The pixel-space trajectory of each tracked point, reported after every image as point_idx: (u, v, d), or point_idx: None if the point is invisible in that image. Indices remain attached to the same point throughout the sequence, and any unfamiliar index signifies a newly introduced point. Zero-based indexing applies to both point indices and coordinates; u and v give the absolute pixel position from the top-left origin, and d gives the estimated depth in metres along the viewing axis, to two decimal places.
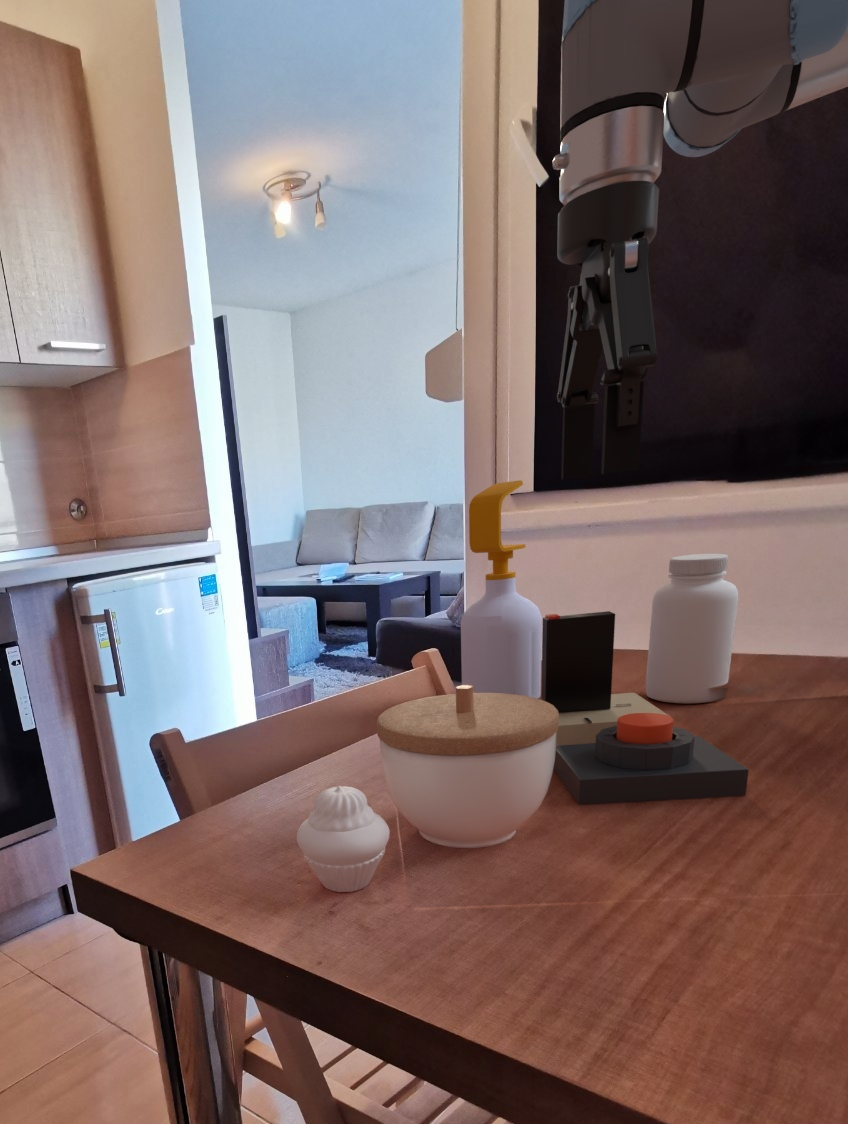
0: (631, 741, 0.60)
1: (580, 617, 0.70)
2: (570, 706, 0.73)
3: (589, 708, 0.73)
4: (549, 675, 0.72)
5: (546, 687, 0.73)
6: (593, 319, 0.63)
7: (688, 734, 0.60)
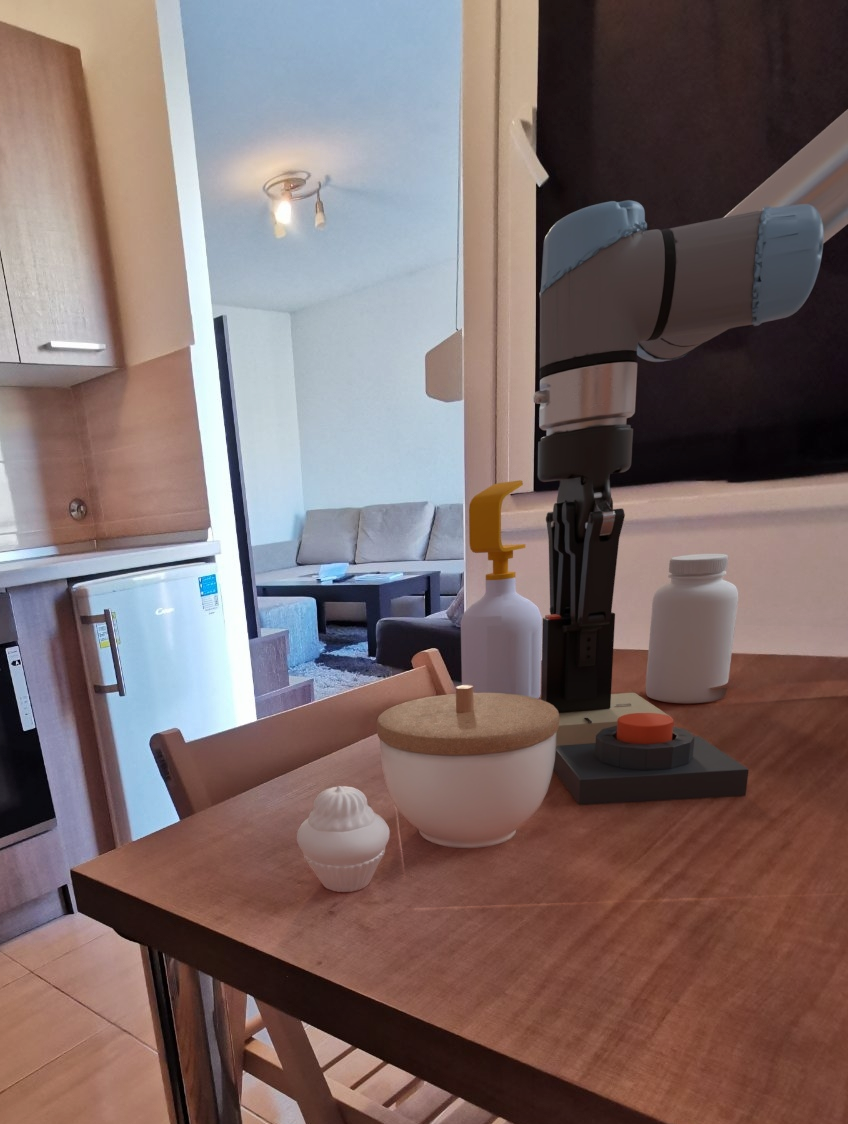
0: (631, 741, 0.60)
1: None
2: (571, 706, 0.73)
3: (589, 708, 0.73)
4: (550, 675, 0.72)
5: (547, 687, 0.73)
6: (567, 550, 0.68)
7: (688, 734, 0.60)
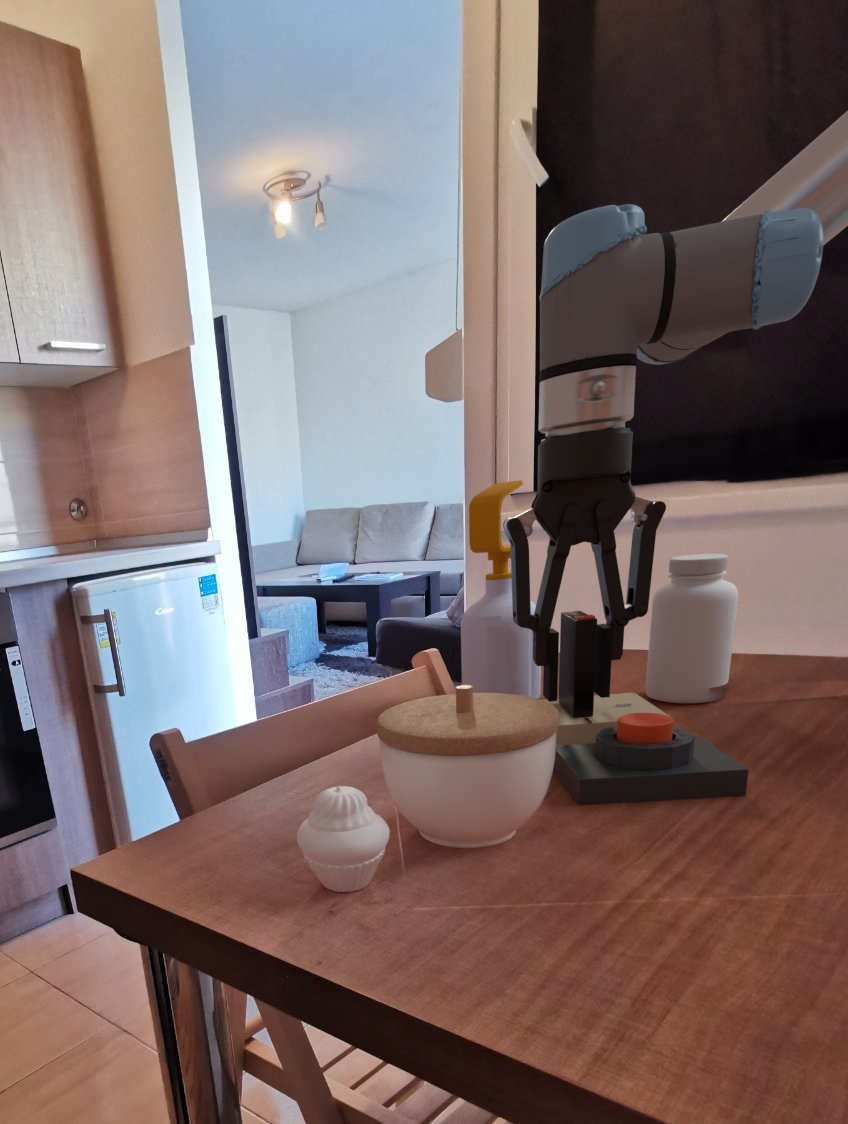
0: (631, 741, 0.60)
1: (587, 615, 0.71)
2: None
3: None
4: (594, 675, 0.70)
5: (593, 688, 0.70)
6: (605, 549, 0.67)
7: (688, 734, 0.60)
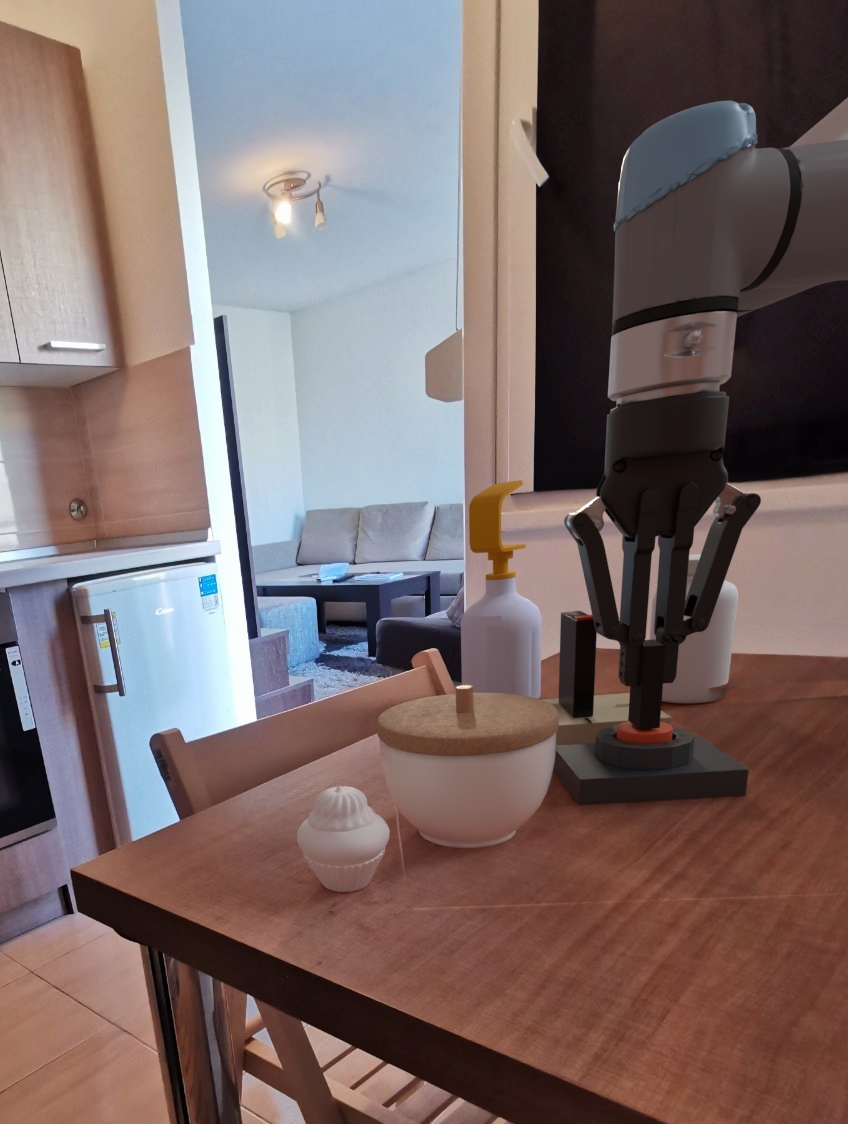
0: None
1: (587, 615, 0.71)
2: None
3: None
4: (594, 675, 0.70)
5: (593, 688, 0.70)
6: (678, 545, 0.55)
7: (688, 734, 0.60)
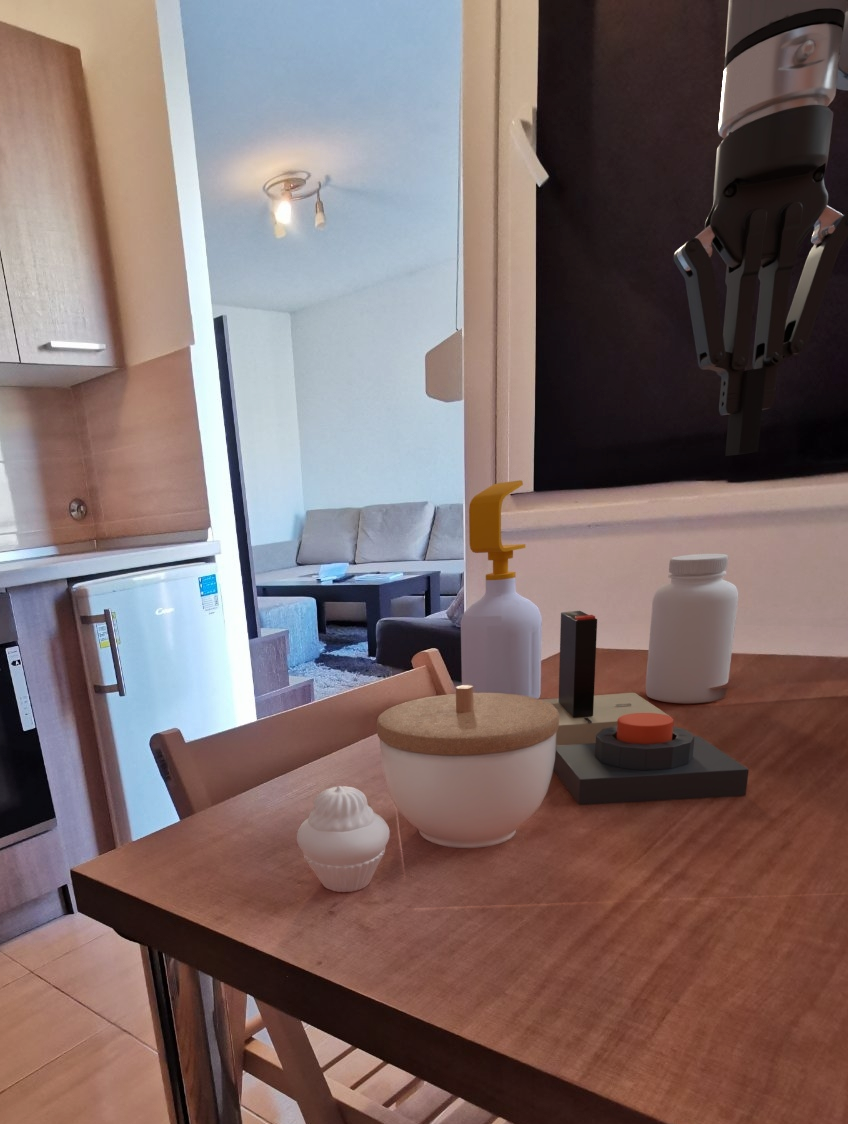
0: (631, 741, 0.60)
1: (587, 615, 0.71)
2: None
3: None
4: (594, 675, 0.70)
5: (593, 688, 0.70)
6: (782, 265, 0.61)
7: (688, 734, 0.60)
